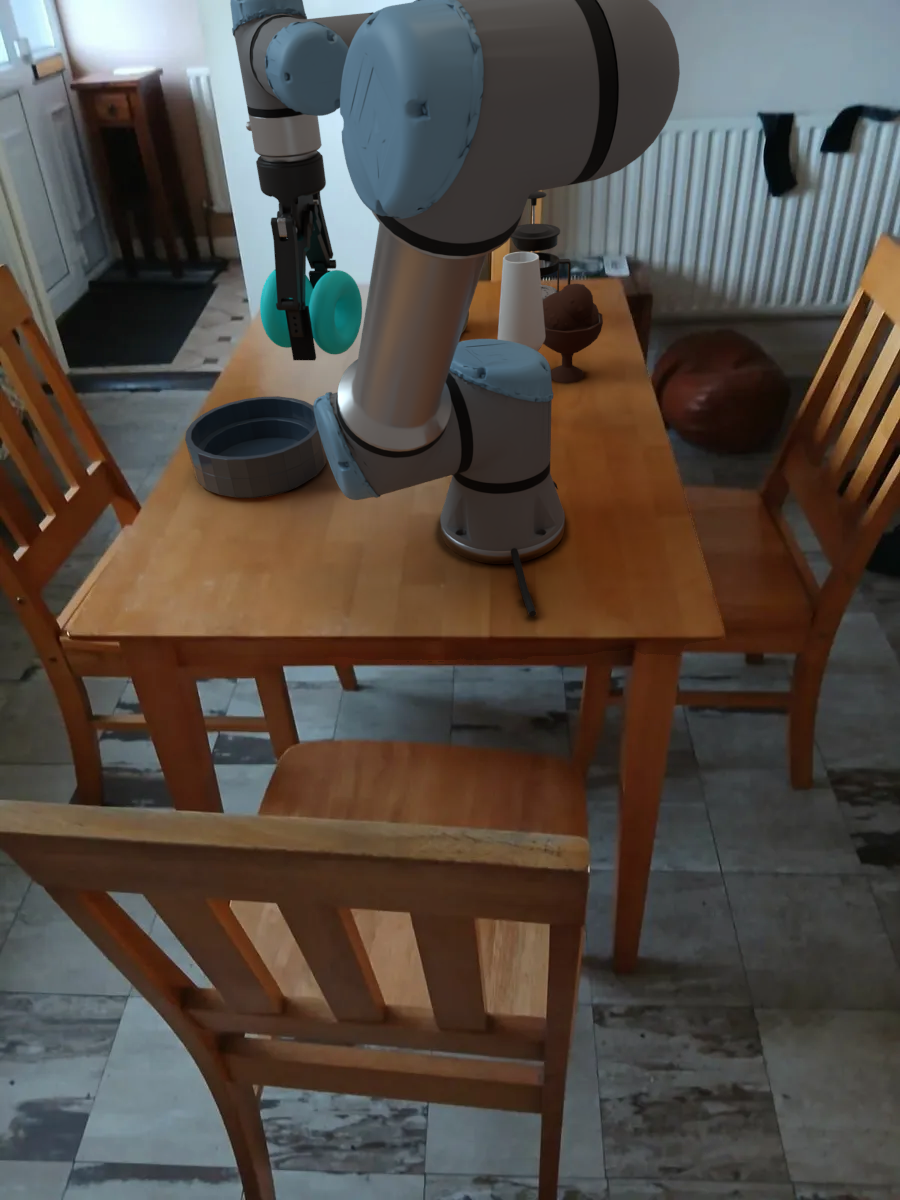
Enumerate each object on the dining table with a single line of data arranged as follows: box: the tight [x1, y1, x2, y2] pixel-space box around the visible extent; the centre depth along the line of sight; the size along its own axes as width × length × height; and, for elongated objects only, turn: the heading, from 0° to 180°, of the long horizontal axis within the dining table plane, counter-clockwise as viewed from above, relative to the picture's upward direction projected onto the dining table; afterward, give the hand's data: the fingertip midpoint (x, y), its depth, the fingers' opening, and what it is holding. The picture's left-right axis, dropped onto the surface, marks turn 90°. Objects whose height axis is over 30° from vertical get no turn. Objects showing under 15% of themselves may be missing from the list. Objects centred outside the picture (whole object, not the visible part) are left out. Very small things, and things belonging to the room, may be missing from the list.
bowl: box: [184, 395, 328, 499], centre depth 125 cm, size 19×19×6 cm
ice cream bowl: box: [542, 283, 604, 384], centre depth 141 cm, size 11×11×15 cm
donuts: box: [259, 269, 363, 355], centre depth 112 cm, size 10×10×10 cm
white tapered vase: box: [497, 251, 545, 352], centre depth 126 cm, size 7×7×24 cm
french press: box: [510, 190, 572, 301], centre depth 155 cm, size 12×9×23 cm
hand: (316, 339), depth 114 cm, fingers closed on donuts, 11 cm apart
